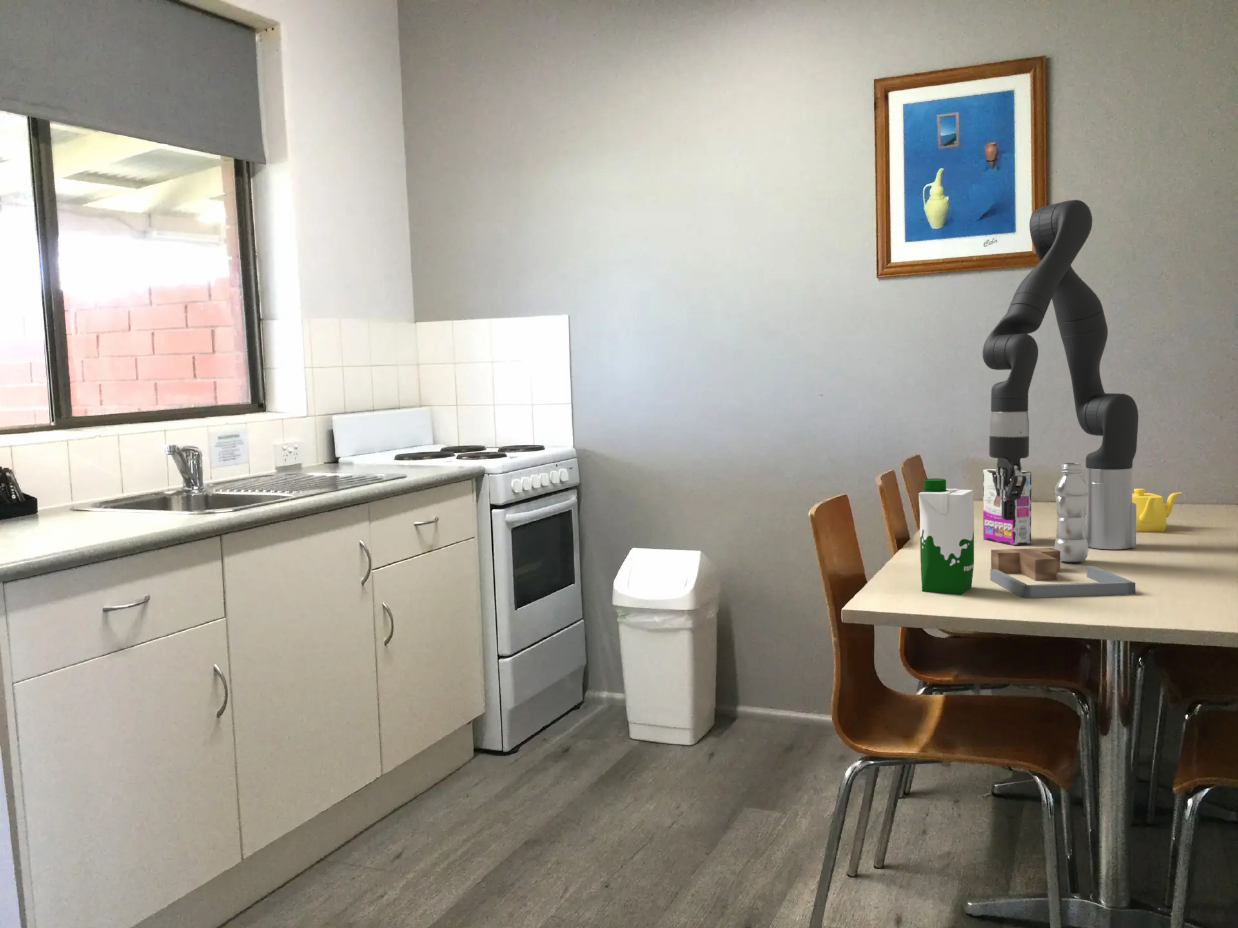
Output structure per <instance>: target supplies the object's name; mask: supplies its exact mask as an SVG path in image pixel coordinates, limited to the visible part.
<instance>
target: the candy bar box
mask: <svg viewBox="0 0 1238 928" xmlns="http://www.w3.org/2000/svg"><path fill="white" fill-rule="evenodd" d="M993 471H996V468H991V469H990V468H987V469H983V470H982V472H983V473H982V474H983V476H982V479H983V480H982V482H983V483H982V484H983V485H982V486H983V488H982V489H983V495H982V496H983V499H982V503H983V508H982V509H983V510H982V511H983V512H982V513H983V514H982V516H983V517H982V518H983V523H982V524H983V528H982V529H983V530H982V531H983V533H982V534H983V540H987V541H991V542H996V543H1000V544H1006V545H1011V546H1021V545H1031V544H1032V471H1027V470H1022V475H1021V476H1026V482H1025V485H1024V488H1023V491H1022V494H1021V497H1020V499H1017V501H1015V519H1014V520H1004V519H1002V501H1001V500H1000V497H998V496H997V493H996V489H995V485H994V481H993V477H992V472H993Z"/></svg>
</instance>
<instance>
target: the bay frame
mask: <svg viewBox="0 0 1238 928" xmlns="http://www.w3.org/2000/svg"><path fill="white" fill-rule="evenodd" d="M989 572H990V573H989V574H990V575H989V580H990V581H991V582H994V583H995V584H997V585H999V586H1001V587H1003V589H1006V590H1008V591H1009V592H1012V593H1014V594H1016V595H1018V596H1019V597H1021V598H1022V599H1027V598H1029V599H1030V598H1031V599H1032V598H1058V597H1059V598H1061V597H1085V596H1086V597H1088V596H1090V597H1091V596H1115V595H1116V596H1120V595H1121V596H1122V595H1136V582H1135V581H1132V580H1131V579H1126V578H1125V577H1122V576H1119V575H1117V574H1115V573H1112V572H1110V571H1107V570H1105V569H1102V568H1100V567H1097V566H1095V565H1087V566H1086V577H1087V578H1089V579H1092V580H1094V581H1096V582H1071V583H1047V584H1046V583H1043V584H1027V583H1025V582H1023V581H1020V580H1019V579H1017V578H1015V577H1013V576H1011V575H1009V574H1008V573H1003V572H1001V571H999V570H997V569H991V568H990V570H989Z"/></svg>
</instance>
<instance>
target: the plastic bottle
mask: <svg viewBox="0 0 1238 928" xmlns="http://www.w3.org/2000/svg"><path fill="white" fill-rule="evenodd" d="M1060 471H1061V473H1062V475H1061V477H1060V478H1059V480H1058V481H1057V482H1056V484H1055V487H1054V498H1055V505H1056V515H1057V517H1056V521H1057V523H1056V534H1055V535H1056V536H1055V537H1056V538H1055V540H1054V541H1055V542H1054V547H1053V548H1054V549H1056V550H1059V551H1060V562H1061V561H1062V562H1066V563H1070V564H1073V563H1078V562H1083V561H1085V560H1086V559H1088V556H1089V555H1088V554H1089V549H1090V548H1089V547H1088V542H1087V539H1086V527H1085V516H1086V505H1087V498H1088V487H1087V484H1086V480H1084V479H1083V477H1082V476H1081V473H1083V472H1082V464H1081V463H1079V462H1063V463H1061V470H1060Z"/></svg>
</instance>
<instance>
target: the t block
mask: <svg viewBox="0 0 1238 928" xmlns="http://www.w3.org/2000/svg"><path fill="white" fill-rule="evenodd" d="M990 569H997V570H999V571H1001V572H1003V573H1005V574H1021V575H1023V576H1024V577H1027V578H1028V579H1030V580H1033V581H1036V582H1038V581H1057V580H1058V578H1057V576H1058V572H1061V560H1060V551H1059V550H1056V549H1054V547H1036V548H1034V547H1033V548H1029V547H1028V548H1010V549H1009V548H1008V549H1007V548H1006V549H1003V548H1002V549H990Z"/></svg>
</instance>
